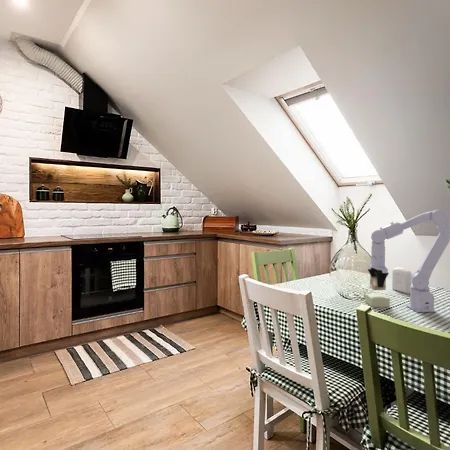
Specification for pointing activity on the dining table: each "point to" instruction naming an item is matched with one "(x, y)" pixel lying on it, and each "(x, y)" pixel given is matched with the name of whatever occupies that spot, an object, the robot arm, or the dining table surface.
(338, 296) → the dining table surface
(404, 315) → the dining table surface
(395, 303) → the dining table surface
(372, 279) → the cream cube
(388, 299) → the sage base block
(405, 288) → the photo printer
